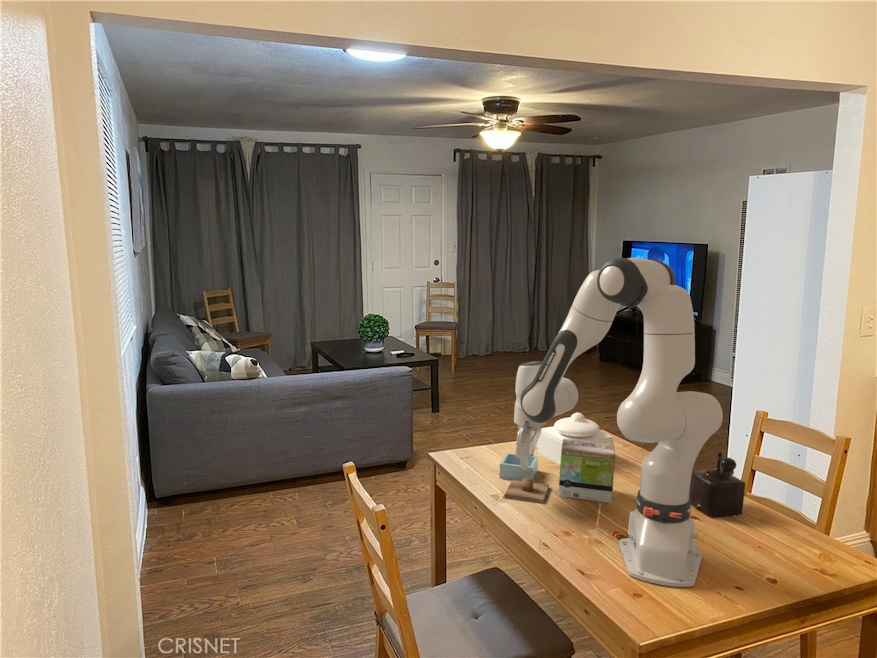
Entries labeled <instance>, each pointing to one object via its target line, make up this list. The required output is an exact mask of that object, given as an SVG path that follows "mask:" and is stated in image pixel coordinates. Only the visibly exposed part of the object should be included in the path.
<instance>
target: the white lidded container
mask: <svg viewBox="0 0 877 658" xmlns="http://www.w3.org/2000/svg"><path fill="white" fill-rule="evenodd" d="M563 439H571V440H581V441H590V442H600V443H610V444H614V438H613V436H612V435H610V434H608V433H605V432H602V431H601V430H600V425H598V423H596V422H595V421H593V420H591V419H588V418H585V415H584V414H583V413H581V412H574V413H573V414H571V415H570V417H564V418H561V419H560V418H559V419H558V420H557V421H555V423H554V425H552V426H548V427H542V428H541V434H540V437H539V439H538V441H537V455H539V454H540V455H539V456H541V455H542V456H541V457H543V456H544V457H543V458H545V457H546V458H545V459H547V458H548V459H547V460H549V459H550V460H549V461H551V460H552V461H551V462H553V463H554V462H556V463H557V464H556V463H555V464H556V465H558V464H561V451H562V444H563Z"/></svg>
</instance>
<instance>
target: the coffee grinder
mask: <svg viewBox="0 0 877 658" xmlns="http://www.w3.org/2000/svg"><path fill="white" fill-rule="evenodd" d="M716 454H717V456H716V467H715V468H709V469H703V470H702V469H701V470H692V476H691V484H690V493H689V498H690V499H691V507H693V508H695V509H696V510H697V511H698V512H701V513H702V514H703V515H706V516H707V517H709V518H727V517H726V516H729V517H734V515H736V516H741V515H743V506H744V500H745V499H744V498H745V491H746V482H745V481H743V480H741V479H739V477H736V476H735V475H734V473H735V471H734V470H735V469H736V468H737V461H736V460H734V459H733V458H731V457H724V458H723V452H722V451H718V452H717V453H716Z"/></svg>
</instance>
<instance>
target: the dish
mask: <svg viewBox="0 0 877 658" xmlns="http://www.w3.org/2000/svg"><path fill="white" fill-rule="evenodd" d="M538 459H539V458H538V456H535V455H534V456H533V457H532V458H530V457H529V458H528V468H527V470H524V469H521V461H520V458H517V457H516V453H511V452H506V453H505V455H504V457H503V458H502V459H501V461H500V463H499V479H504V480H511V481H512V480H517V481H522V479H523V478H532V479H533V480H534V478H535V476H536V474H537V472H538V463H539V462H538Z"/></svg>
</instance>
